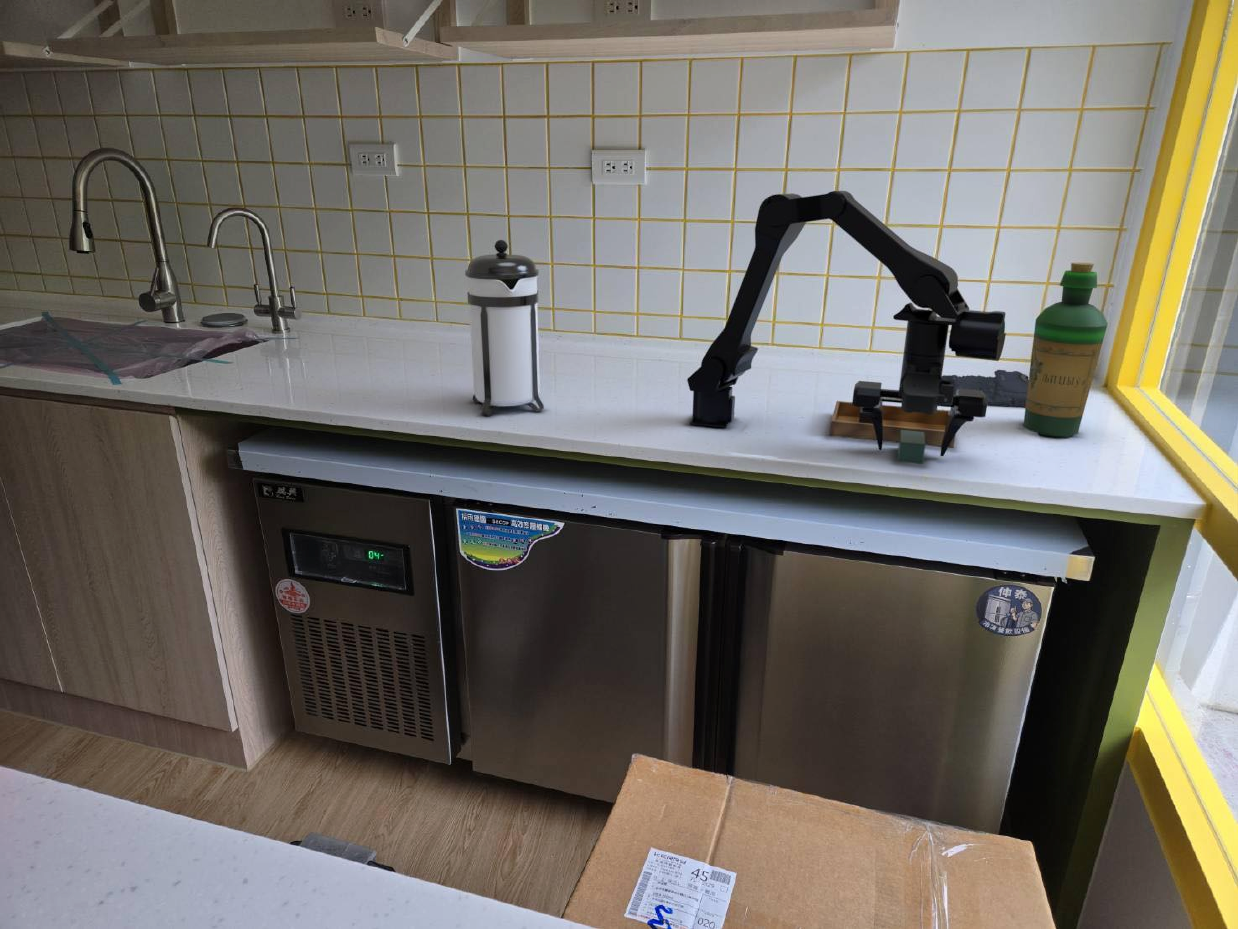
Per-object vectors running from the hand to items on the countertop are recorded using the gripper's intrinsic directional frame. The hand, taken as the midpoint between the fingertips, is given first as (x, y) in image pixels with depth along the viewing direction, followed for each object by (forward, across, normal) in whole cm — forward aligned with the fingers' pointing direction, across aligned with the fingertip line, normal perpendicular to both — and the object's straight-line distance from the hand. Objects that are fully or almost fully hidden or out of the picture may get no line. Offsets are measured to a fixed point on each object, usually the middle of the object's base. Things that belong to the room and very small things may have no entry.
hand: (910, 452), depth 126 cm
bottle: (+1, +23, +23) cm, 33 cm away
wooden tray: (+1, -3, +13) cm, 13 cm away
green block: (+1, 0, 0) cm, 1 cm away
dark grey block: (0, -6, +13) cm, 15 cm away
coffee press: (+1, -72, +7) cm, 72 cm away
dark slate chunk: (+1, +17, +45) cm, 48 cm away
